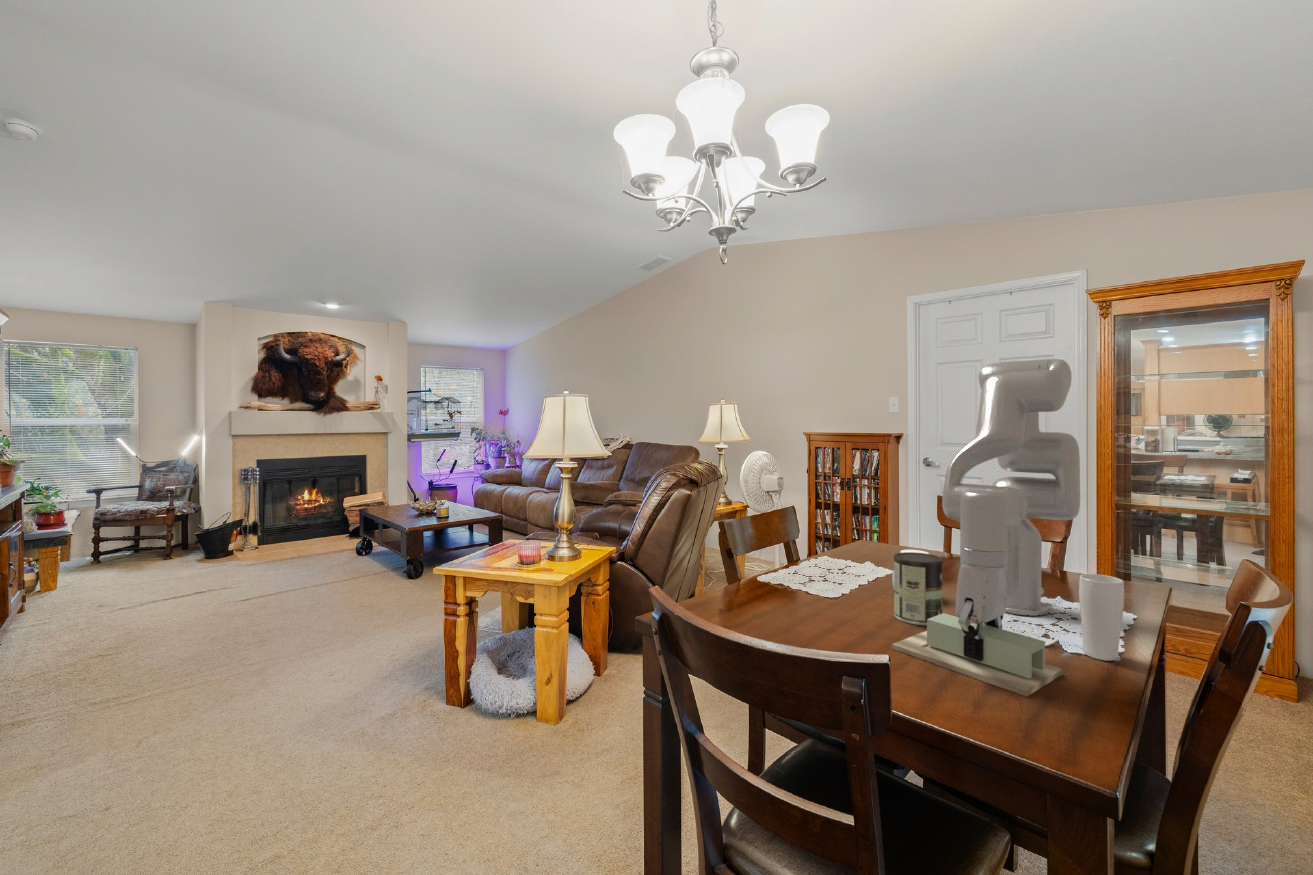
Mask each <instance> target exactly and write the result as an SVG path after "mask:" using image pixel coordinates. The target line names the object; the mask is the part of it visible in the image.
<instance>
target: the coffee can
mask: <svg viewBox="0 0 1313 875" xmlns="http://www.w3.org/2000/svg"><path fill="white" fill-rule="evenodd" d="M893 559H894V560H893V561H894V563H893V566H894V588H893V591H894V593H893V594H894V600H893V602H894V604H893V605H894V606H893V607H894V609H893V610H894V614H893V616H894V618H895V619H897V620H899V621H901V622H903V623H906V624H910V625H916V626H924V627H925V626H926V627H927V619H929V618H932V617H934V616H937V615H940V614H942V613H943V576H944V575H943V571H944V570H943V563H944V559H943V558H942V557H941V556H938V555H934V554H932V553H931V554H930V553H929V554H925V553H914V552H905V553H900V552H898V553H895V554H894V555H893Z"/></svg>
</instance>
